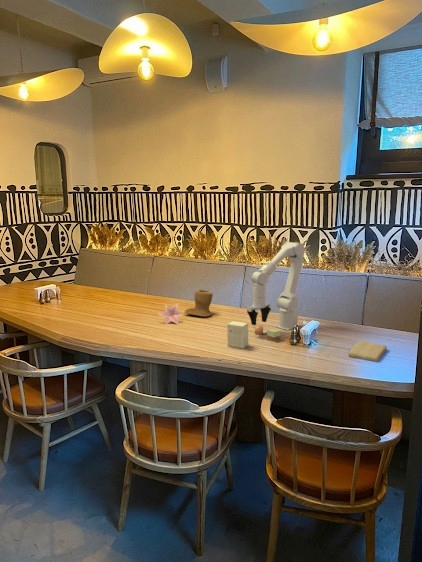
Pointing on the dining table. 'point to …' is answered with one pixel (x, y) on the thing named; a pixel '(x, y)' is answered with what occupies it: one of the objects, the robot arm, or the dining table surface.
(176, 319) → the lily
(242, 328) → the small box
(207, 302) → the brown boot
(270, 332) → the tower top
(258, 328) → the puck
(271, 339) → the tower base
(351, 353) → the washcloth
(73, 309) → the dining table surface
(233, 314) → the dining table surface
